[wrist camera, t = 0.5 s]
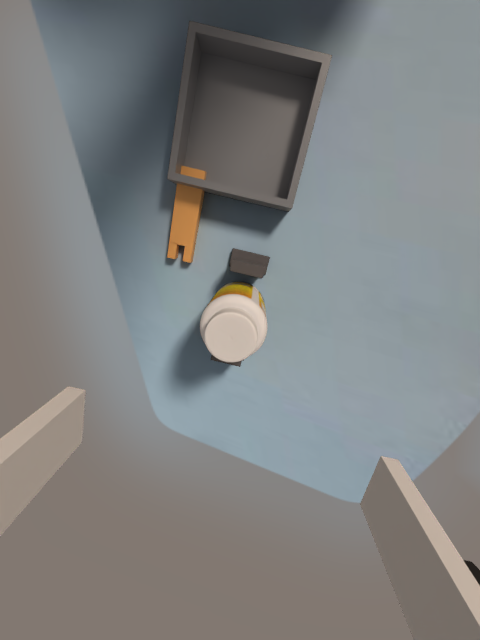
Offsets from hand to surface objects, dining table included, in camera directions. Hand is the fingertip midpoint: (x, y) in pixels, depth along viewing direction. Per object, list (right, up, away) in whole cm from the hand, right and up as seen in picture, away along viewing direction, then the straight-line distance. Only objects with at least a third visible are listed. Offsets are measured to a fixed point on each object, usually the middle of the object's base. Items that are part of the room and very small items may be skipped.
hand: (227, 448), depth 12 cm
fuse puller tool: (-4, +17, +16) cm, 24 cm away
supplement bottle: (0, +7, +18) cm, 20 cm away
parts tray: (+1, +23, +14) cm, 27 cm away
